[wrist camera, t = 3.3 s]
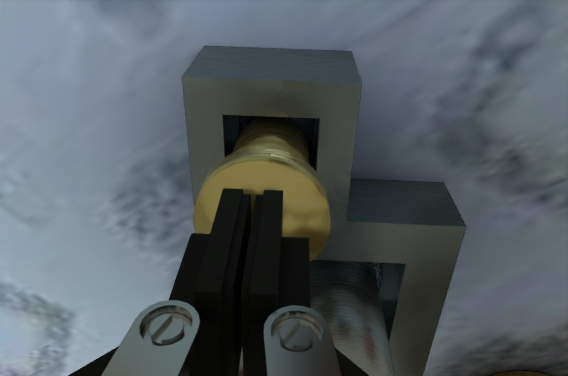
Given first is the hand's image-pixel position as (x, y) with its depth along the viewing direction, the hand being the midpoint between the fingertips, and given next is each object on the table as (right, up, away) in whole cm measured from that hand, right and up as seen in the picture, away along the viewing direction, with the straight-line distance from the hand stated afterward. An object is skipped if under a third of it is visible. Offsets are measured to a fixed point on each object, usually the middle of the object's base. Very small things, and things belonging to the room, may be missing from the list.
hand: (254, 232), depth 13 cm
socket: (+3, 0, +10) cm, 10 cm away
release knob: (0, +3, +5) cm, 5 cm away
